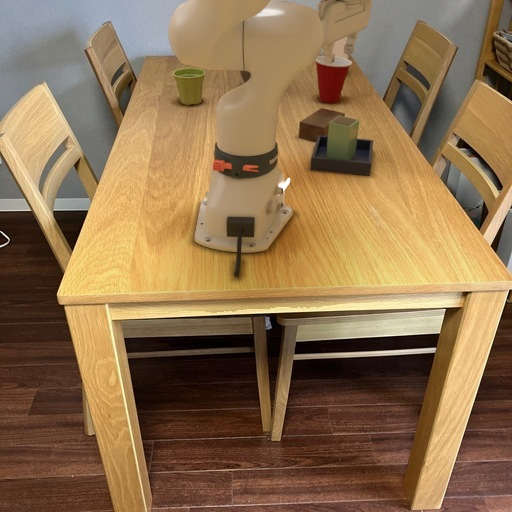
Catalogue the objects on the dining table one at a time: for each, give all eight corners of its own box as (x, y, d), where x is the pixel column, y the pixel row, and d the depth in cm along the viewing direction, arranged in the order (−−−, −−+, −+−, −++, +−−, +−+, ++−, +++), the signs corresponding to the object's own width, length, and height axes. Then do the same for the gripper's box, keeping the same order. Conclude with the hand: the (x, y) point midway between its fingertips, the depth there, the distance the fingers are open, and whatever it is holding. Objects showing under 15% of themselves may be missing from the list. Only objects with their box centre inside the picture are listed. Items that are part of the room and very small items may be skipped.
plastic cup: (355, 103, 163) (359, 62, 156) (322, 108, 160) (325, 66, 153) (337, 92, 171) (341, 52, 164) (305, 96, 168) (308, 55, 161)
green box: (310, 136, 130) (340, 113, 123) (320, 129, 133) (350, 106, 126) (334, 171, 131) (366, 150, 124) (344, 163, 134) (375, 142, 127)
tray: (369, 176, 124) (371, 163, 123) (310, 170, 127) (311, 157, 125) (371, 151, 135) (373, 139, 133) (317, 146, 137) (318, 135, 136)
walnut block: (298, 137, 142) (299, 121, 140) (320, 122, 150) (321, 107, 148) (322, 143, 139) (324, 127, 137) (343, 128, 147) (345, 113, 145)
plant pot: (168, 104, 162) (165, 74, 157) (186, 94, 168) (184, 65, 163) (195, 109, 158) (193, 79, 153) (212, 99, 165) (211, 70, 160)
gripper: (335, -3, 103) (329, 72, 111) (379, -18, 117) (371, 50, 125) (306, -7, 106) (302, 67, 114) (352, -20, 120) (346, 46, 128)
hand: (338, 58), depth 119 cm, fingers open, 8 cm apart
